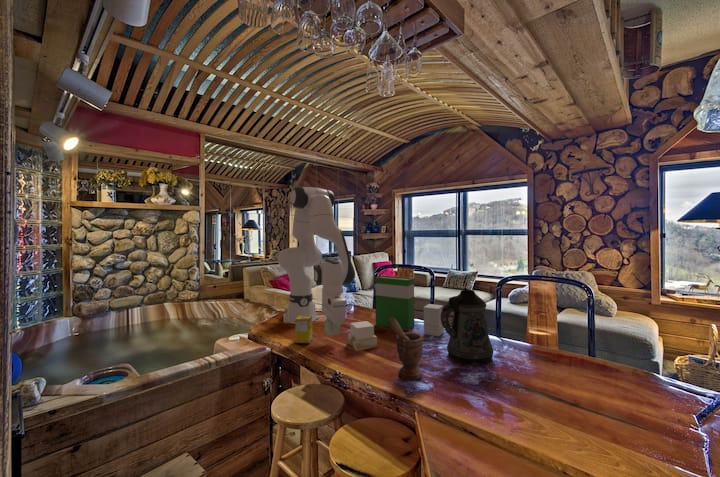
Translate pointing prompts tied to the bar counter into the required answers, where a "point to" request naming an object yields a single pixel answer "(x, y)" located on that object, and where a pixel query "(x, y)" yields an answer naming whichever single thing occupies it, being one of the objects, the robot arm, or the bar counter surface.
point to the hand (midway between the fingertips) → (332, 329)
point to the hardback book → (395, 301)
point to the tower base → (362, 342)
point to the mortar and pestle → (408, 351)
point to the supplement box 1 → (303, 329)
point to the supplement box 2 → (433, 320)
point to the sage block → (329, 328)
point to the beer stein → (467, 329)
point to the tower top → (362, 330)
